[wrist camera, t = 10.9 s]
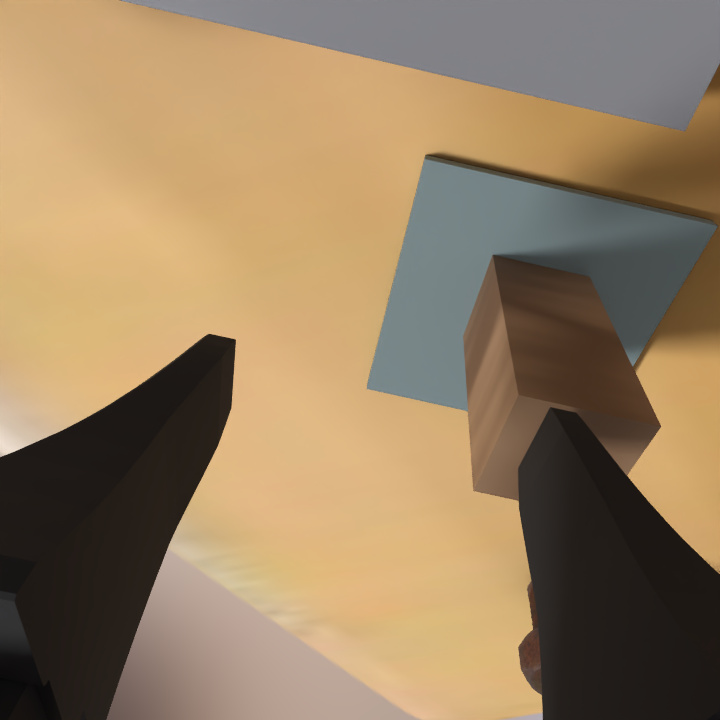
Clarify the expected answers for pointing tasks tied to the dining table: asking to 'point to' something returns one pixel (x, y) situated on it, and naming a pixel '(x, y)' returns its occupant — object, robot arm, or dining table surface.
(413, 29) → the grey flat block
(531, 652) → the bolt
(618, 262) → the mat
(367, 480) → the dining table surface
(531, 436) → the tall wooden block
